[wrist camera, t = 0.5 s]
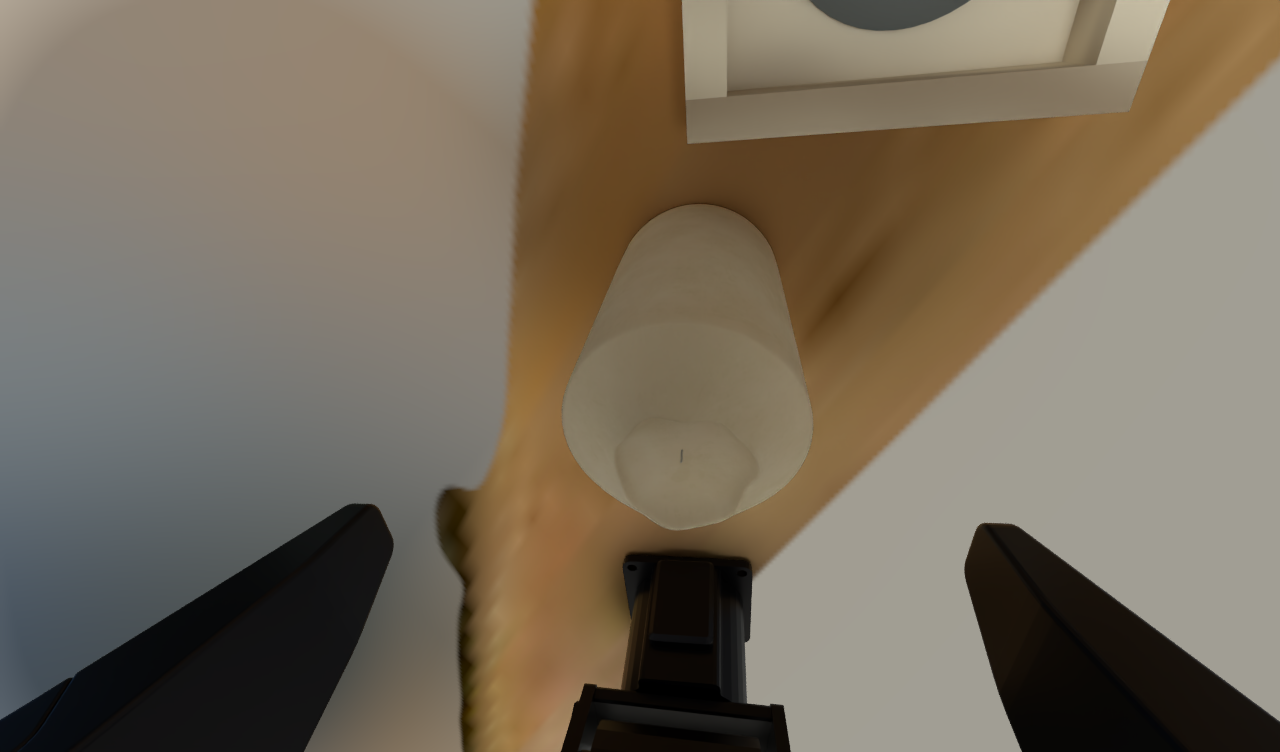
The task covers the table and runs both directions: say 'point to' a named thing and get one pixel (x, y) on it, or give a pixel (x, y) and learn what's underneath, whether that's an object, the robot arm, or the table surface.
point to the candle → (691, 374)
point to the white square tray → (906, 63)
